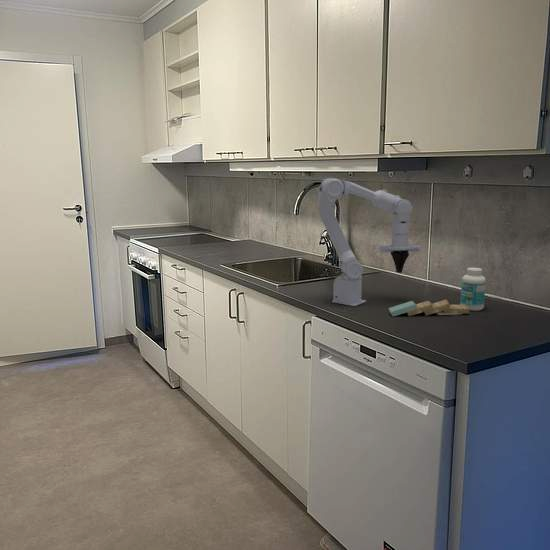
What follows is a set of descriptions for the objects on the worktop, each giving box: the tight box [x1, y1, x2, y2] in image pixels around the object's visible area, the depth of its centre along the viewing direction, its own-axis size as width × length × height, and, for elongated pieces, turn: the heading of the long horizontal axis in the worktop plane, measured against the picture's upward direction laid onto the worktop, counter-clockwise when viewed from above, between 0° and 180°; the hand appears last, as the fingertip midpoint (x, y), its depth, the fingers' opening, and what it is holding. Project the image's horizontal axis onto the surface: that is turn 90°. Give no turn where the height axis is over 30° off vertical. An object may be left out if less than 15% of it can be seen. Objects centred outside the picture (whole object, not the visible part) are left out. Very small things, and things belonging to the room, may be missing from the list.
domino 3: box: [423, 299, 451, 317], centre depth 171 cm, size 2×5×8 cm
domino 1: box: [388, 300, 417, 317], centre depth 171 cm, size 2×5×8 cm
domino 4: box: [435, 311, 464, 316], centre depth 173 cm, size 2×5×8 cm
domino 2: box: [405, 300, 433, 317], centre depth 171 cm, size 2×5×8 cm
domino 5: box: [442, 304, 470, 314], centre depth 172 cm, size 2×5×8 cm
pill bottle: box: [459, 267, 487, 312], centre depth 176 cm, size 8×7×14 cm
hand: (398, 272), depth 186 cm, fingers closed
